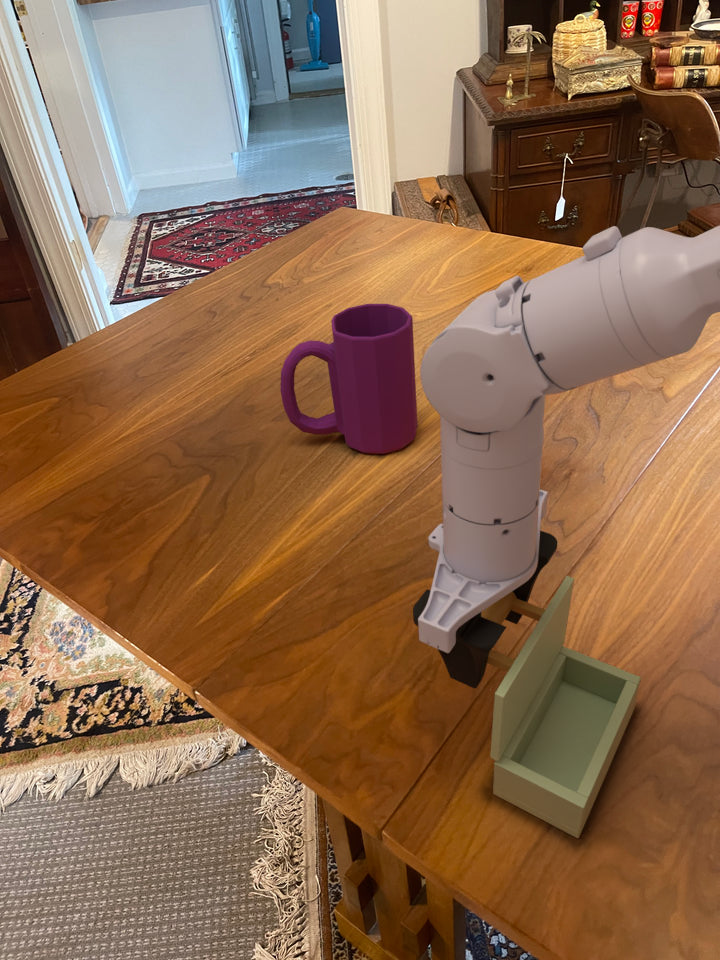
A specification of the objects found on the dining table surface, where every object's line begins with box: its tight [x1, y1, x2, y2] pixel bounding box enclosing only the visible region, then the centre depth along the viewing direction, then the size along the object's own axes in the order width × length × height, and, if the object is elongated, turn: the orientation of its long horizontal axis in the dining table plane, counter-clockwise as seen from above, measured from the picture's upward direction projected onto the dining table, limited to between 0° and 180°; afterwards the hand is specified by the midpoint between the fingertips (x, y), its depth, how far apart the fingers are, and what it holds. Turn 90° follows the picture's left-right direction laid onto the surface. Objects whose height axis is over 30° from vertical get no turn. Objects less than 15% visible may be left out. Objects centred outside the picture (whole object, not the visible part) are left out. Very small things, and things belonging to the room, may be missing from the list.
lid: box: [481, 575, 575, 761], centre depth 51 cm, size 7×12×5 cm
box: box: [492, 645, 642, 839], centre depth 52 cm, size 6×12×4 cm, turn 146°
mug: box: [280, 303, 418, 455], centre depth 84 cm, size 9×16×15 cm, turn 95°
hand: (486, 646), depth 52 cm, fingers closed on lid, 6 cm apart
